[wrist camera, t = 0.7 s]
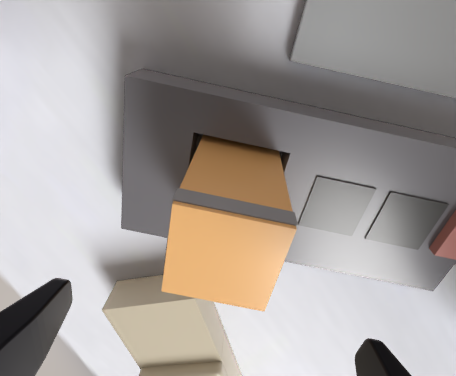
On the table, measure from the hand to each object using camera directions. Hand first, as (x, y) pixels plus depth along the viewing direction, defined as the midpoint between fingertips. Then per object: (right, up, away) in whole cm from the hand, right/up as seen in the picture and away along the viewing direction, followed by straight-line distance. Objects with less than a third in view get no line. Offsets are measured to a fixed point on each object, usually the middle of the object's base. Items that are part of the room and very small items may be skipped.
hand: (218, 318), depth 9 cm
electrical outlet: (-3, -10, +19) cm, 22 cm away
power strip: (+7, +4, +10) cm, 12 cm away
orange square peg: (+1, +5, +9) cm, 10 cm away
